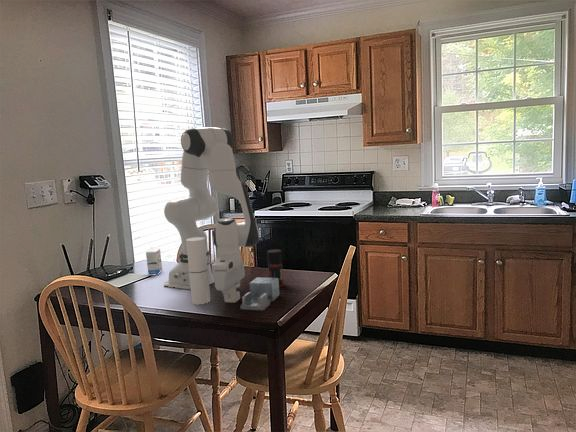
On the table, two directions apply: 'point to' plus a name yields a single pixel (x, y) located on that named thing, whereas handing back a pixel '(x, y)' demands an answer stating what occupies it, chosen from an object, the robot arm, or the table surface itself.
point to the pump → (234, 293)
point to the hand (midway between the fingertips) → (232, 295)
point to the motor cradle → (260, 293)
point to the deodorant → (275, 265)
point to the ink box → (154, 261)
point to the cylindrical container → (198, 270)
